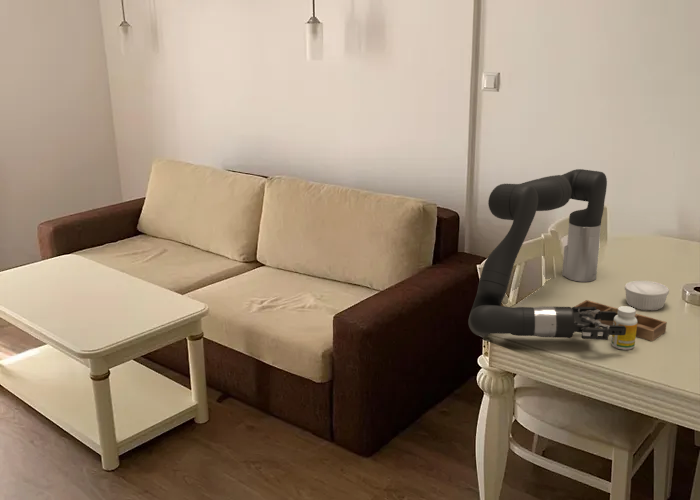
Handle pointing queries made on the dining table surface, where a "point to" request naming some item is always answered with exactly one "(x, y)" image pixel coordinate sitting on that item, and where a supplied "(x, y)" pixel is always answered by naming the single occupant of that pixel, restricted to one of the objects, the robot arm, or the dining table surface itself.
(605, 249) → the dining table surface
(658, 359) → the dining table surface
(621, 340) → the supplement bottle
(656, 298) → the ramekin
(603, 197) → the robot arm
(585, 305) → the wooden compartment tray
